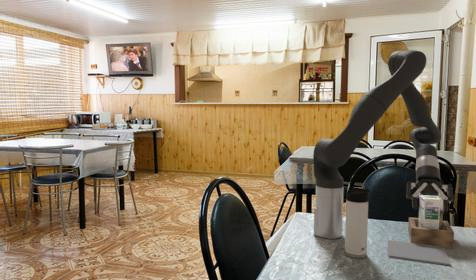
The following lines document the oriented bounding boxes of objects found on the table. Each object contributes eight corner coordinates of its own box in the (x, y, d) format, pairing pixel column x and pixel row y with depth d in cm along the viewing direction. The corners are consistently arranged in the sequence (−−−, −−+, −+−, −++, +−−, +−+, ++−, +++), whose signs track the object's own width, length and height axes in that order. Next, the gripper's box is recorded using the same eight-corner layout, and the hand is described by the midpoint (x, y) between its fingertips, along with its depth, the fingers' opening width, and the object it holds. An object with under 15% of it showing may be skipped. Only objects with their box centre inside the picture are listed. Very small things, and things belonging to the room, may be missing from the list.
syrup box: (422, 241, 117) (424, 198, 116) (417, 235, 123) (419, 194, 121) (441, 242, 116) (443, 199, 114) (435, 236, 122) (437, 194, 120)
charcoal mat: (388, 256, 105) (388, 255, 105) (387, 241, 117) (387, 240, 117) (450, 265, 99) (450, 264, 99) (443, 248, 111) (443, 246, 111)
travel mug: (369, 259, 103) (371, 192, 102) (345, 257, 105) (347, 191, 103) (366, 251, 110) (368, 187, 108) (343, 249, 111) (345, 186, 109)
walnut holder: (410, 242, 116) (411, 227, 116) (408, 230, 127) (408, 217, 127) (453, 248, 112) (454, 232, 111) (446, 235, 123) (447, 221, 122)
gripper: (406, 163, 128) (407, 202, 119) (452, 165, 123) (456, 206, 114) (405, 175, 134) (405, 213, 124) (448, 177, 129) (452, 218, 119)
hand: (430, 210), depth 119 cm, fingers open, 8 cm apart
